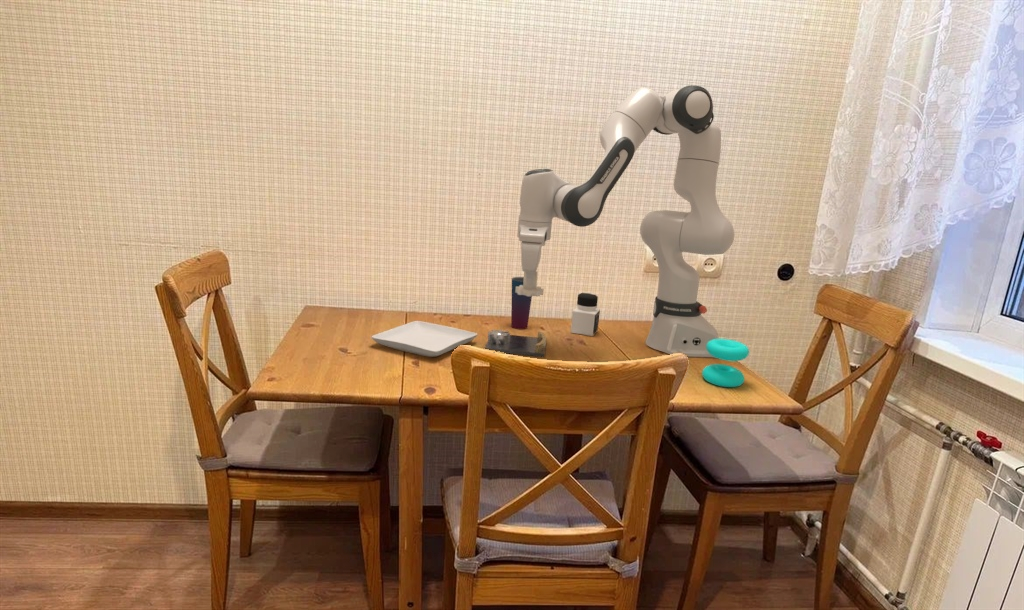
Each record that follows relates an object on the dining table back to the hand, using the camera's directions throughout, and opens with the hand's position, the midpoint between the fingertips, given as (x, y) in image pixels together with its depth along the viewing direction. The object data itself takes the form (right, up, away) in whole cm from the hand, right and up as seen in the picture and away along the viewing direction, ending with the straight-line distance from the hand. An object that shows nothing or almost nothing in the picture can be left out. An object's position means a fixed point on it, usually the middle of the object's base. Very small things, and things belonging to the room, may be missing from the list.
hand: (530, 282), depth 162 cm
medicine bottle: (+17, -14, +23) cm, 33 cm away
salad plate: (-28, -17, +1) cm, 33 cm away
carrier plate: (-4, -17, +5) cm, 18 cm away
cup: (-3, -13, +24) cm, 27 cm away
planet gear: (0, -3, +1) cm, 3 cm away
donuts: (+48, -25, -11) cm, 55 cm away
